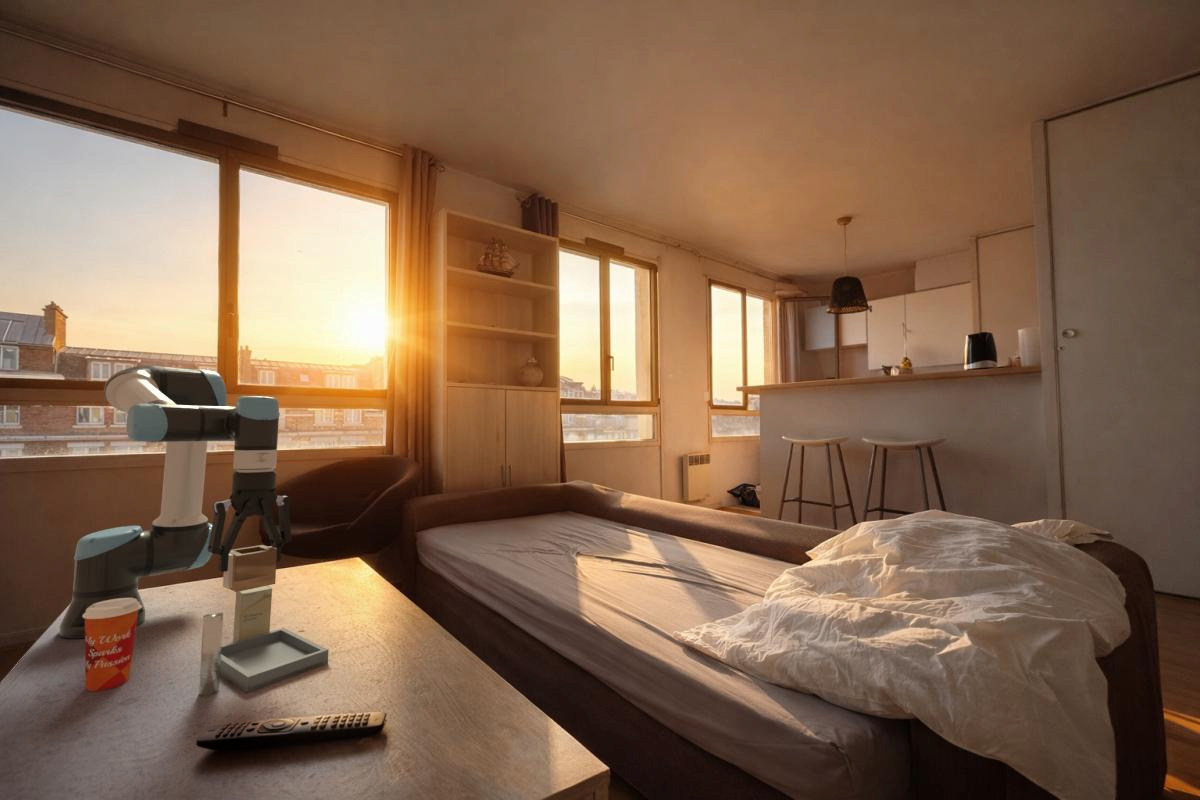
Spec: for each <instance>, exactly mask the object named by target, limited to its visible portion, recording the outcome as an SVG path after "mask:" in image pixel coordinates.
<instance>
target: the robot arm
mask: <svg viewBox="0 0 1200 800" xmlns="http://www.w3.org/2000/svg"><path fill="white" fill-rule="evenodd" d="M103 394H104V398H105V399H106V401H107V402H108V403H109V405H110V406H112V408H113V409H116V410H118V411H120V412H124V413H126V423H125V424H126V432H127V437H128V439H129V440H131V441H133V442H147V443H152V444H153V443H159V442H160V443H162V442H163V443H165V442H166V445H165V446H166V448H165V457H164V458H165V459H164V469H163V479H162V480H163V483H162V495H161V496H162V497H161V503H160V504H161V505H160V515H158V517H157V518H155V519H154V520H153V521H152V523H151V529H148V530H143V528H142V527H141V525H128V526H127V525H126V526H119V527H113V528H108V529H103V530H99V531H95V532H92V533H89V534H87V535H84V536H82V537H81V538H79V540H78V541H77V544H76V547H75V553H74V556H73V559H74V571H73V572H74V573H73V584H72V586H73V587H72V599H71V601H70V603H69V605H68V608H67V610H66V612H65V614H64V615H63V616H64V617H63V618H62V620H61V622H60V626H59V633H58V634H59V636H60V637H61V638H64V639H85V618H83V617H82V616H83V614H84V613H85V612H86V609H87V608H88V607H90V606H91V605H92V604H95V603H98V602H102V601H106V600H111V599H118V598H135V599H137V601H138V602H140V605H141V606H142V608H140V609H139V610H138V617H137V625H136V627H137V626H138V625H140V624H142V623H144V622H145V621H146V608H145V605H144V604H143V600H142V597H141V595H140V593H139V589H138V588H139V579H140V578H145V577H153V576H158V575H164V574H170V573H175V572H186V571H189V570H193V569H197V568H200V567H203V566H204V565H206V564H207V563H208V561H209V560H210V558H211V557H212V555H218V567H217V569H218V571H219V572H221V573H223V577H222V578H223V579H222V587H223V588H225V589H228V590H231V589H230V588H232V579H233V558H234V555H233V554H230V551H231V550H233V549H232V548H233V546H234V544H235V542H236V540H237V537H238V535H239V534H240V533H239V532H240V531H241V530H242V529H241V528H242V526H243V524H244V522H246V520H247V518H248V517H249V518H250V517H251V518H252V517H254V516H258V517H260V519H261V521H262V523H263V525H264V528H265V531H266V533H267V537H268V539H269V541H270V544H271V545H270V546H269V545H268V547H271V548H274V549H277V556H276V563H278V562H280V561H281V557H282V547H284V545H285V544H287V543H290V542H292V531H291V519H290V518H291V517H290V505H291V501H292V497H290V496H287V495H278V494H277V492H276V484H277V483H276V482H277V472H276V471H275V470H274V469H276V468H277V461H278V457H277V456H278V440H279V439H278V438H279V421H280V420H279V418H280V417H281V416H280V415H281V414H280V403H279V400H278V399H277V398H275V397H273V396H272V397H271V396H257V395H253V396H252V395H242V396H240V397H238V398H237V399H236V404H235V406H227V403H228V401H227V400H228V398H227V396H228V395H227V388H226V384H225V382H224V379H223V377H222V376H221V375H220V373H218V372H216V371H213V370H206V369H202V368H201V369H200V368H186V367H185V368H184V367H172V366H161V365H137V366H132V367H128V368H124V369H122V370H120V371H117V372H116V373H114V374H112V375H111V376H110V377H109V378H108V379H107V380H106V382H105V384H104V386H103ZM208 442H234V446H233V447H234V449H233V450H234V451H233V452H234V453H233V463H232V464H233V465H232V469H233V470H235V472H233V473H232V482H231V483H232V484H231V485H232V487H231V495H230V497H229V498H228V499H226V500H222V501H215V502H213V503H212V508H213V513H214V515H213V519H212V523H210V522H209V521H208V520H209V518H208V517H207V516H206V515H205V514H203V513H202V511H203V501H204V499H203V498H204V489H205V488H204V487H205V479H206V478H205V475H206V464H207V453H208V451H207V449H208ZM274 503H275V505H276V506H277V512H278V513H277V514H278V525H279V530H278V528H277V525H276V522H275V520H274V518H273V513H272V510H271V507H272V506H273V505H274ZM230 506H231V507H232V508H233V509H234V510H235V512H234V514H233V516H232V520H231V522H230V524H229V527H228V529H227V531H226V533H225V535H224V537H223V533H224V528H225V523H226V516H227V513H226V512H228V511H229V507H230ZM222 537H223V538H222ZM222 539H223V540H222Z"/></svg>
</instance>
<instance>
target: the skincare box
mask: <svg viewBox="0 0 1200 800" xmlns="http://www.w3.org/2000/svg"><path fill="white" fill-rule="evenodd" d="M272 597H273V588H272V587H271V586H270V585H268V586H263V587H258V588H254V589H249V590H244V591H240V592H235V606H234V620H233V634H232V642H236V641H239V640H243V639H246V638H250V637H253V636H257V635H260V634H264V633H267V632H271V630H270V627H271V615H272V612H271V611H272Z"/></svg>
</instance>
